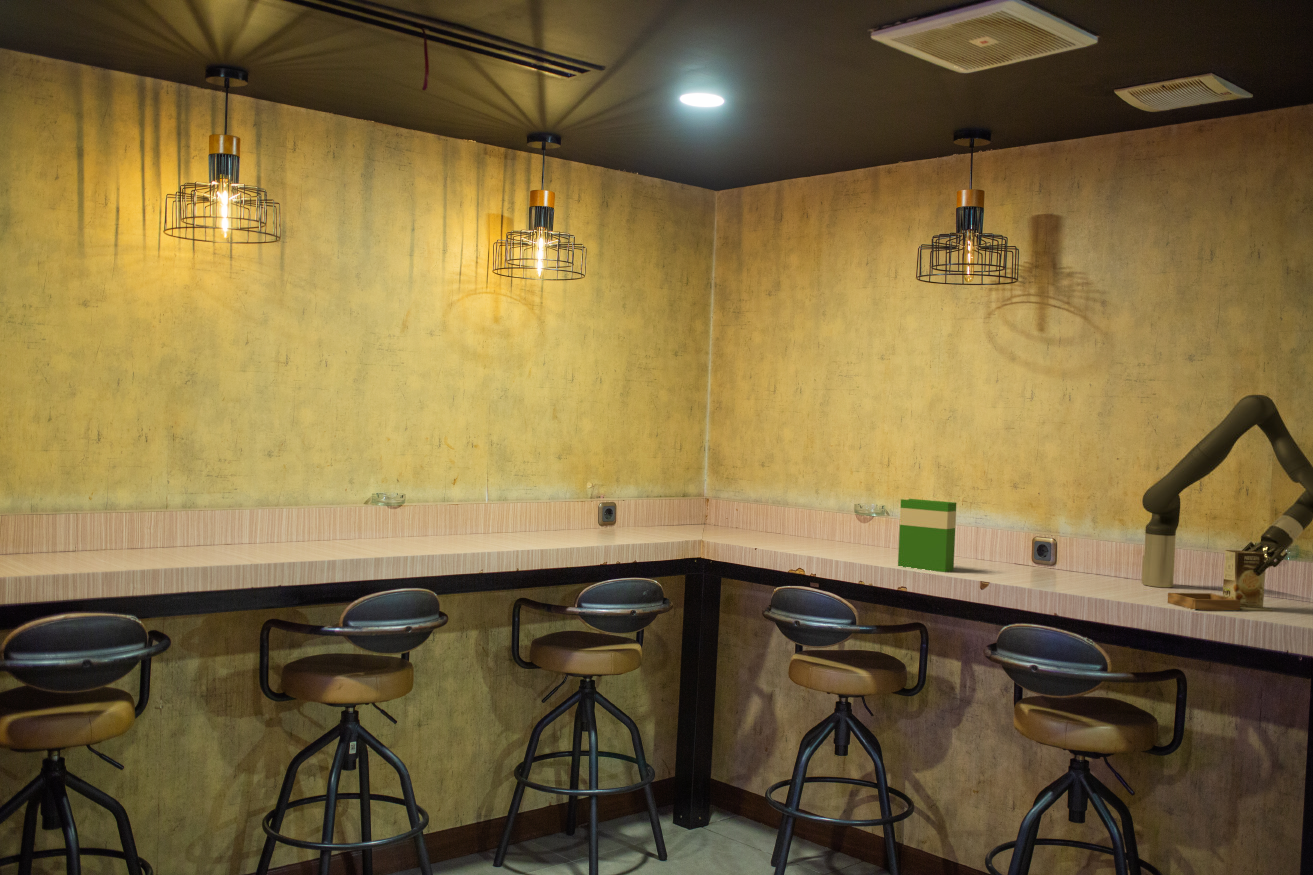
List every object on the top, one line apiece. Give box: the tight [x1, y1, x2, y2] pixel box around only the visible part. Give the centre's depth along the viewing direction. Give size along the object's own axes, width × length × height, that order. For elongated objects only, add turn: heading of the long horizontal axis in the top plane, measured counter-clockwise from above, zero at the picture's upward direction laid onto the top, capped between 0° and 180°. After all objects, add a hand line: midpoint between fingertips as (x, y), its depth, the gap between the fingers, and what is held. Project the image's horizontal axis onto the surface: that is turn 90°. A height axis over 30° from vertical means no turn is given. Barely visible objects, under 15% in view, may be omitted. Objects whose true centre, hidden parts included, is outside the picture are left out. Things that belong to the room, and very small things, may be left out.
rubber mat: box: [1239, 606, 1274, 612], centre depth 319 cm, size 13×10×1 cm
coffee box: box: [1222, 549, 1266, 607], centre depth 319 cm, size 9×6×16 cm
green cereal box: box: [897, 498, 957, 573], centre depth 379 cm, size 18×7×24 cm, turn 52°
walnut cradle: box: [1167, 592, 1241, 611], centre depth 317 cm, size 12×14×3 cm
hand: (1245, 571), depth 319 cm, fingers open, 8 cm apart
